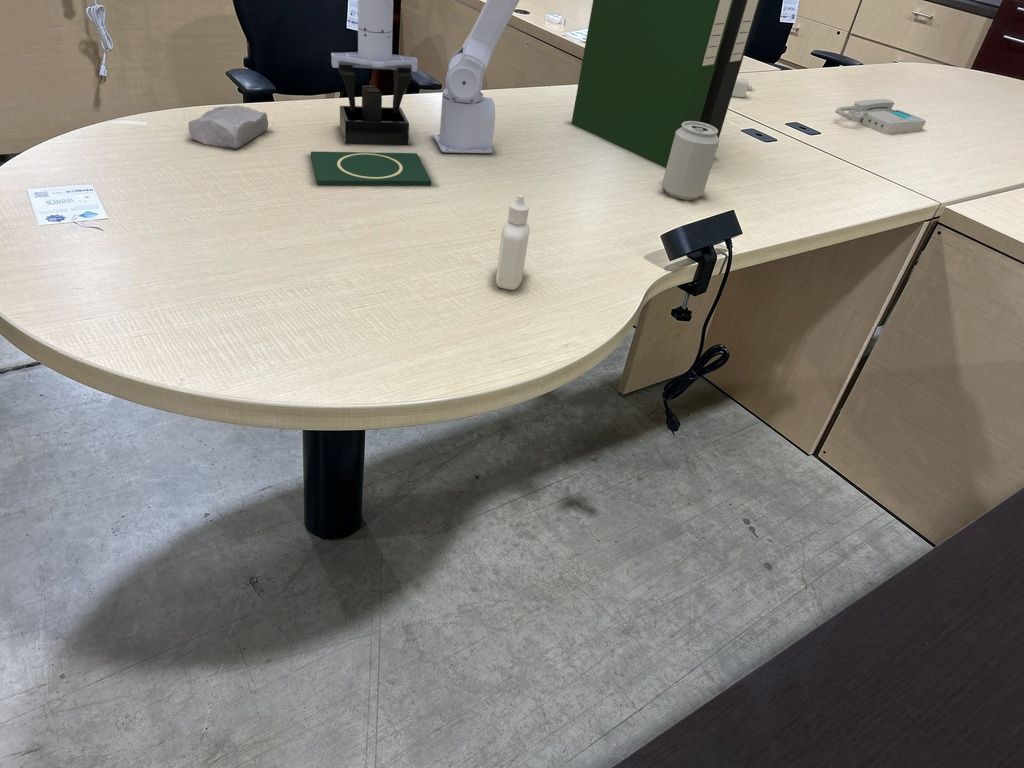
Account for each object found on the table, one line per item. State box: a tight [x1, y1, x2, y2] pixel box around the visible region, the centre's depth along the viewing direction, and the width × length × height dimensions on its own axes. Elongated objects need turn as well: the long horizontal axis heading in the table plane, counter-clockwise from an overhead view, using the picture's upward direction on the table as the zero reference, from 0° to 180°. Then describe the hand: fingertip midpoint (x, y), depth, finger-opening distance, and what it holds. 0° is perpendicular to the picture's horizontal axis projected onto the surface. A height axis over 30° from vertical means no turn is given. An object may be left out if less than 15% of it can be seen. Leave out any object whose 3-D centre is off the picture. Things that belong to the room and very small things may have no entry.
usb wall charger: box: [731, 77, 756, 99], centre depth 190 cm, size 4×7×4 cm, turn 96°
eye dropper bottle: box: [495, 194, 530, 291], centre depth 94 cm, size 4×6×12 cm
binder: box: [571, 0, 761, 168], centre depth 142 cm, size 27×15×32 cm, turn 43°
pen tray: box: [339, 105, 410, 146], centre depth 133 cm, size 11×8×4 cm
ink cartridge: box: [361, 85, 383, 121], centre depth 131 cm, size 5×2×8 cm, turn 24°
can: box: [661, 121, 720, 201], centre depth 128 cm, size 8×8×12 cm
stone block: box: [187, 104, 269, 150], centre depth 125 cm, size 12×5×10 cm
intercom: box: [835, 98, 927, 135], centre depth 184 cm, size 13×4×25 cm
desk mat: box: [310, 150, 432, 186], centre depth 121 cm, size 18×12×1 cm, turn 107°
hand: (374, 110), depth 131 cm, fingers open, 7 cm apart
